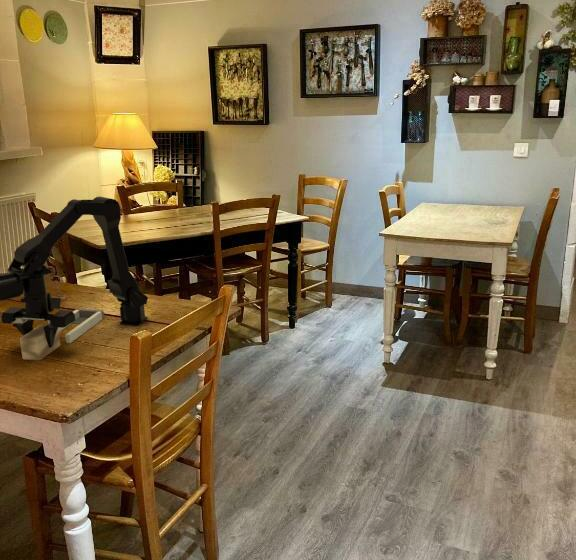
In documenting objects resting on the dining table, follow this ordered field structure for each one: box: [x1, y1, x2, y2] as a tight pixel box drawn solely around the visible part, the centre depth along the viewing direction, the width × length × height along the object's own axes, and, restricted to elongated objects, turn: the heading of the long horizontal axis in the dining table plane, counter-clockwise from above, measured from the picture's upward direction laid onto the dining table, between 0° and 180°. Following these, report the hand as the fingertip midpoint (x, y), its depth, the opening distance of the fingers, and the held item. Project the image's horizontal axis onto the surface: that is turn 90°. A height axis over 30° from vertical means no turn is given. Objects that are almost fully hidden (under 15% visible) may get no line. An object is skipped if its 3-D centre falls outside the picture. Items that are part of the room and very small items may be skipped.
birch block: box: [19, 324, 61, 361], centre depth 159 cm, size 5×10×6 cm, turn 169°
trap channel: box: [58, 308, 105, 344], centre depth 176 cm, size 9×20×2 cm, turn 170°
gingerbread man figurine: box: [44, 265, 68, 302], centre depth 199 cm, size 9×4×12 cm, turn 104°
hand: (42, 346), depth 160 cm, fingers closed on birch block, 5 cm apart
